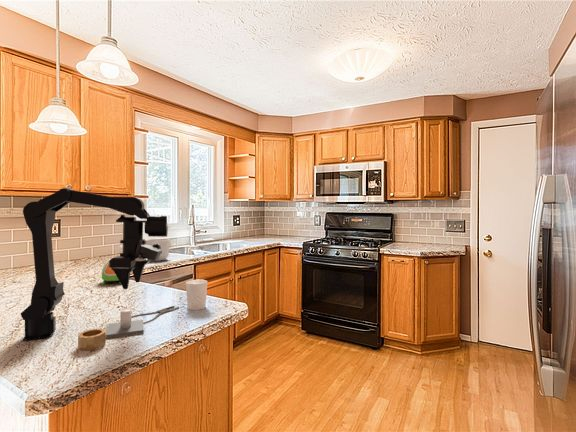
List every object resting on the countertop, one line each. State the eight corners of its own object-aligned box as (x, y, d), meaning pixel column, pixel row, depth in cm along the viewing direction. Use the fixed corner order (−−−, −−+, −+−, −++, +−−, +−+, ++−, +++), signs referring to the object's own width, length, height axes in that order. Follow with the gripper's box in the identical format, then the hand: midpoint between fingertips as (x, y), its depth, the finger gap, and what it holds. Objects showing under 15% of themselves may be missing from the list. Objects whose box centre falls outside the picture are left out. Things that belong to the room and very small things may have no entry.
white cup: (198, 311, 119) (199, 284, 119) (181, 309, 122) (181, 283, 121) (211, 305, 126) (211, 280, 126) (194, 303, 129) (194, 278, 129)
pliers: (118, 320, 107) (159, 303, 126) (118, 323, 107) (159, 306, 126) (142, 324, 104) (180, 306, 123) (142, 326, 104) (180, 308, 123)
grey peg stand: (106, 338, 93) (106, 318, 93) (108, 326, 103) (108, 308, 102) (143, 333, 98) (143, 313, 98) (143, 322, 107) (143, 304, 107)
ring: (76, 352, 84) (76, 339, 84) (80, 343, 90) (80, 330, 90) (104, 348, 87) (104, 335, 87) (106, 339, 93) (106, 327, 93)
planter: (174, 260, 233) (174, 239, 233) (150, 263, 221) (150, 241, 221) (163, 258, 245) (163, 238, 245) (140, 260, 233) (140, 239, 233)
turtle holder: (133, 276, 177) (133, 255, 177) (125, 284, 160) (125, 260, 159) (108, 277, 174) (108, 256, 174) (97, 285, 156) (97, 261, 156)
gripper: (148, 239, 93) (147, 293, 93) (167, 234, 112) (166, 279, 112) (108, 238, 92) (107, 292, 92) (134, 234, 111) (133, 279, 111)
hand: (131, 285), depth 102 cm, fingers open, 9 cm apart
